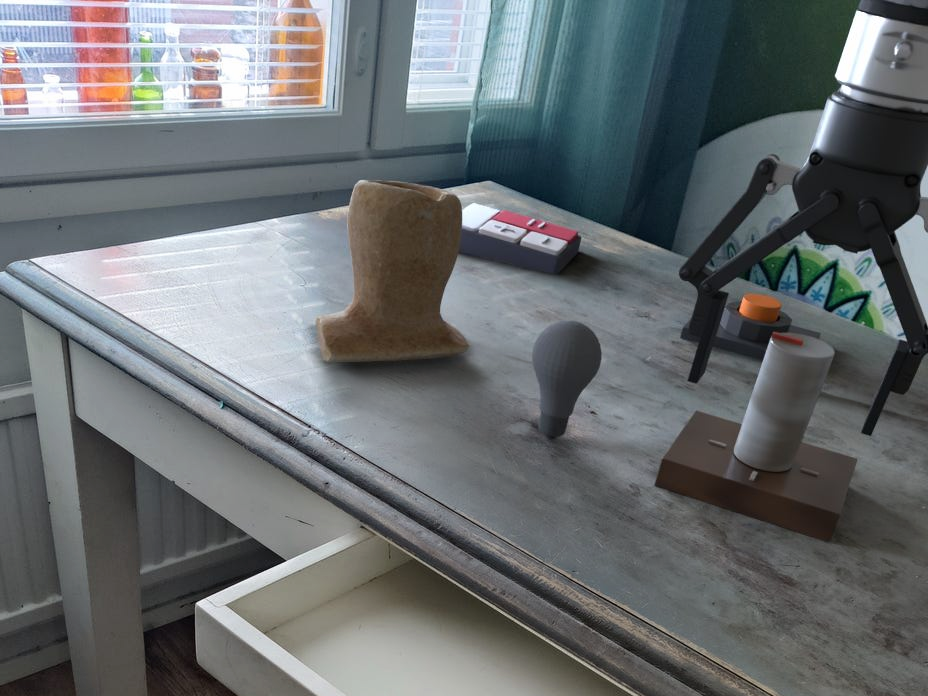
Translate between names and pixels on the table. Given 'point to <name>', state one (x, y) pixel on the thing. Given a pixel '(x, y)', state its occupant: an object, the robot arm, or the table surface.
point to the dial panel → (757, 478)
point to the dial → (783, 401)
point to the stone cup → (397, 275)
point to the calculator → (517, 239)
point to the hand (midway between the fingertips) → (779, 402)
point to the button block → (747, 332)
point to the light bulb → (563, 371)
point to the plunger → (760, 307)
